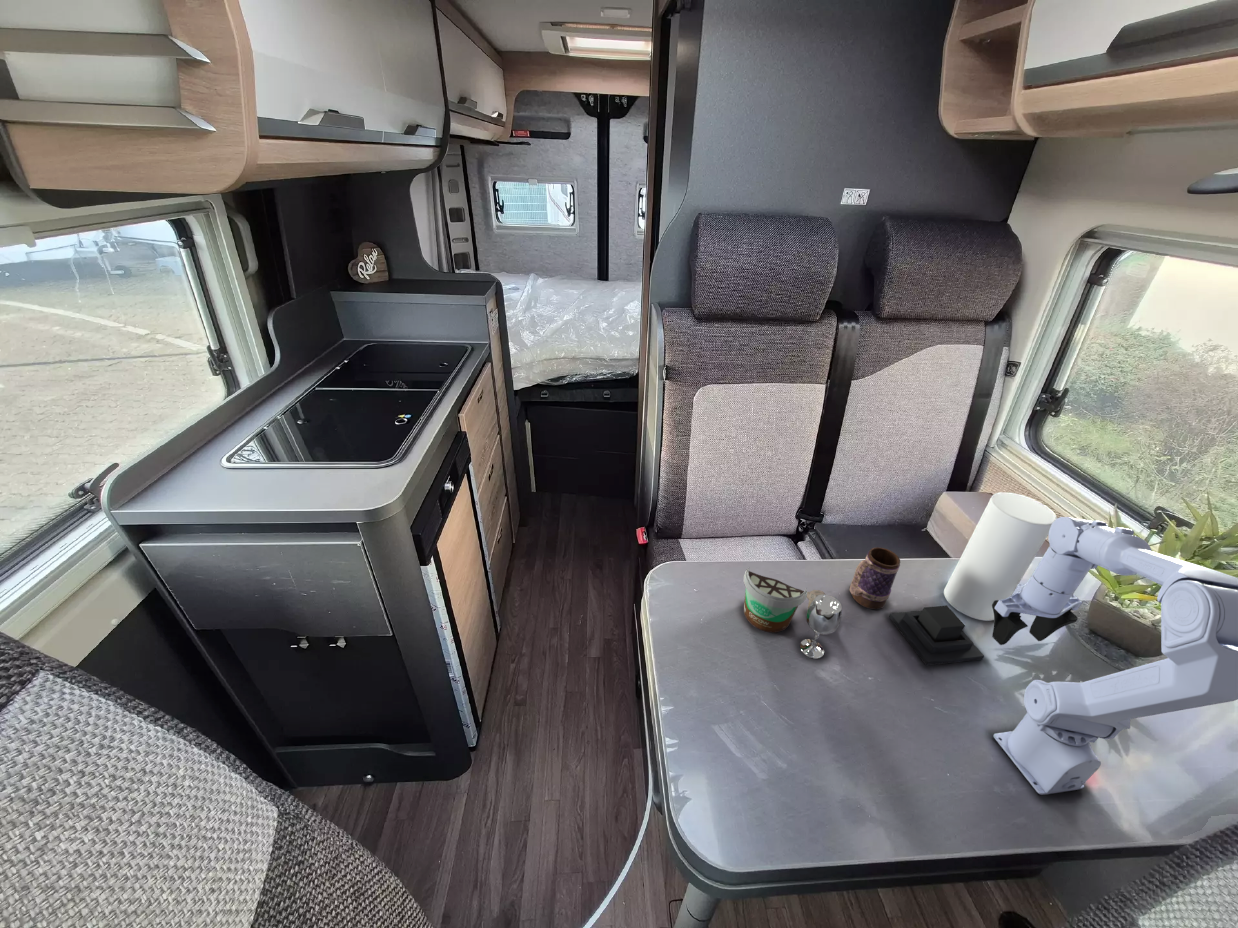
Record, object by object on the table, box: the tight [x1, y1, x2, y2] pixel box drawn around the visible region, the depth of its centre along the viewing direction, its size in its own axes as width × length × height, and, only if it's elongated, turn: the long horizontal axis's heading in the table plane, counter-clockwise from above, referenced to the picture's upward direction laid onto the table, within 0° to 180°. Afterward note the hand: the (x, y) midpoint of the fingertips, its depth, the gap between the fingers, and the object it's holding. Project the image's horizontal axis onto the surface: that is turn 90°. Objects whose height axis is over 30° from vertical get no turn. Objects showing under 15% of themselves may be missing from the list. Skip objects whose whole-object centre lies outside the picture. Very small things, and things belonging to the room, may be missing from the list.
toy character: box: [806, 589, 827, 609], centre depth 106 cm, size 4×8×6 cm, turn 13°
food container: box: [743, 567, 808, 633], centre depth 102 cm, size 12×6×10 cm, turn 62°
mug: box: [849, 546, 901, 610], centre depth 109 cm, size 10×7×12 cm
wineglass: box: [799, 594, 843, 660], centre depth 97 cm, size 6×6×12 cm
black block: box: [917, 604, 966, 643], centre depth 102 cm, size 5×5×5 cm
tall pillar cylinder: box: [943, 491, 1058, 622], centre depth 107 cm, size 11×11×25 cm
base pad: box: [888, 610, 985, 666], centre depth 103 cm, size 12×12×3 cm
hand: (1016, 638), depth 93 cm, fingers open, 7 cm apart
